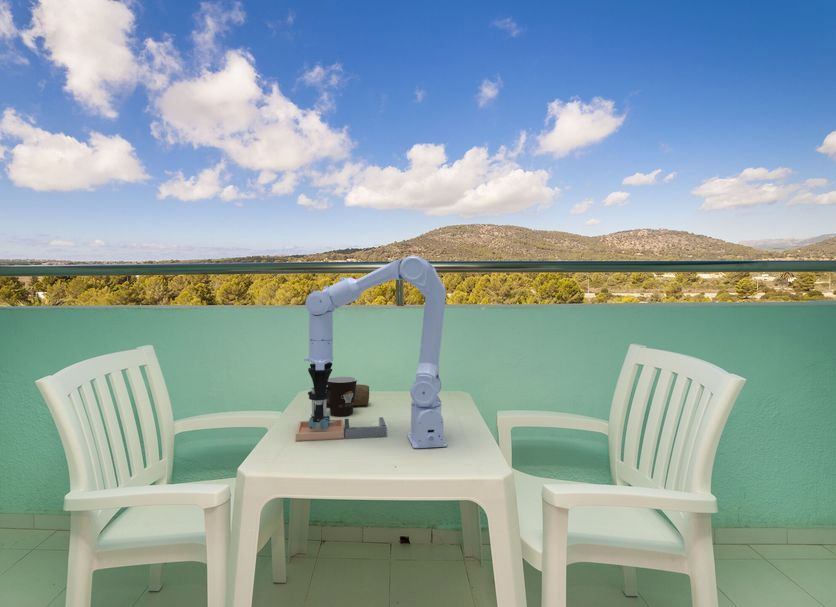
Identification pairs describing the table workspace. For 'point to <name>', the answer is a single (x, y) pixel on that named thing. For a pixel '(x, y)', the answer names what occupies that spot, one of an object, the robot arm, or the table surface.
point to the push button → (319, 411)
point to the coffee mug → (341, 395)
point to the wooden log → (359, 395)
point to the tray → (319, 432)
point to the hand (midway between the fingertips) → (320, 394)
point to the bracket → (366, 430)
